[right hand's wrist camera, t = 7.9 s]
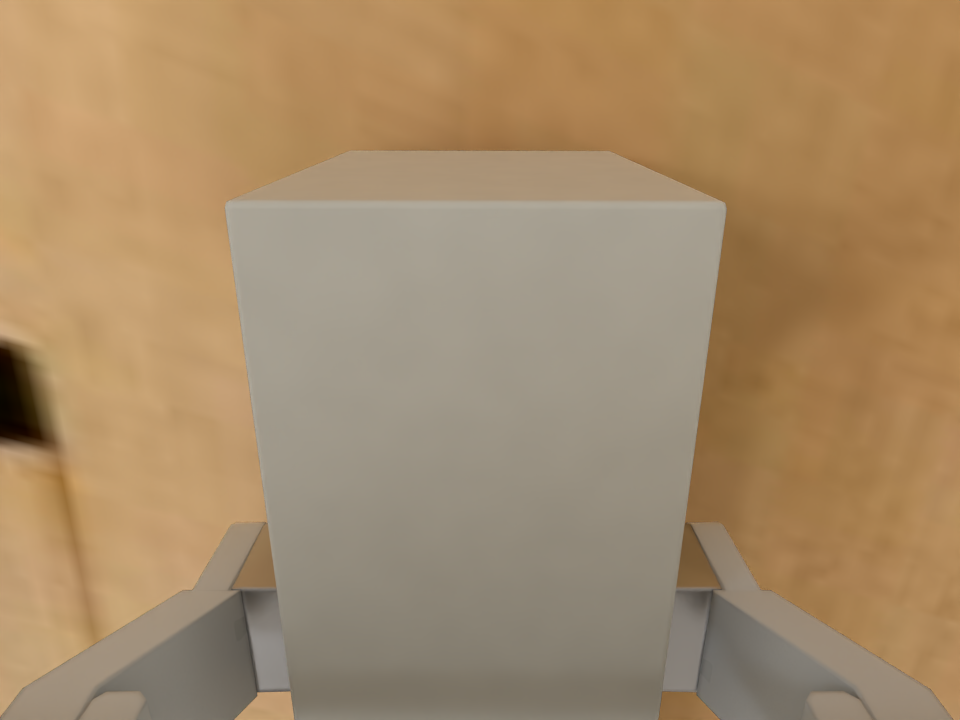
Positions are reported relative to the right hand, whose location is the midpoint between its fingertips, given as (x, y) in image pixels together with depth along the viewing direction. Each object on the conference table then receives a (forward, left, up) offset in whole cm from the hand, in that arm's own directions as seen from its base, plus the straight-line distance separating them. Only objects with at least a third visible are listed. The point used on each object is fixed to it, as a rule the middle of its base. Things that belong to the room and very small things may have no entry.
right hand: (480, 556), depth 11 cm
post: (+19, -9, -3) cm, 21 cm away
